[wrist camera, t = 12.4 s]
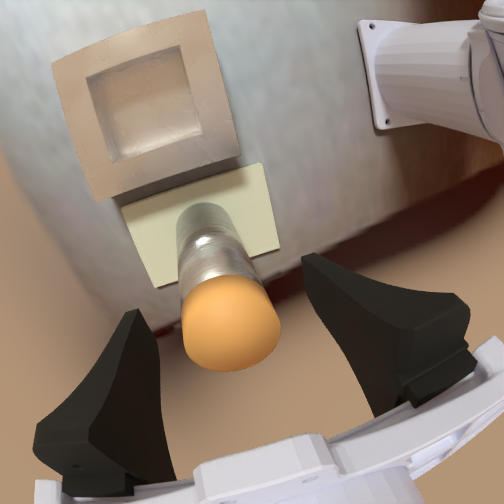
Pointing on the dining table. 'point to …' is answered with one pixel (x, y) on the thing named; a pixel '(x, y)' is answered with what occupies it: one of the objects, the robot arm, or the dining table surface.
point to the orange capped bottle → (221, 293)
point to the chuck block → (146, 104)
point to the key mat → (206, 190)
